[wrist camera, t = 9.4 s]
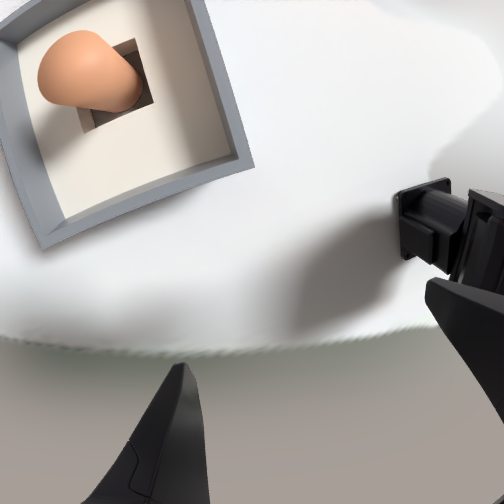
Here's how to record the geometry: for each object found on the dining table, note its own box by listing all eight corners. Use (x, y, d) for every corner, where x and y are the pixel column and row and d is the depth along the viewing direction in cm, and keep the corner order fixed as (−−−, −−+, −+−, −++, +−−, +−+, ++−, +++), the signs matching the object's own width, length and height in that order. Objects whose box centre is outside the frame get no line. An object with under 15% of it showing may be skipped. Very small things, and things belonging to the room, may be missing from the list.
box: (182, -22, 12) (181, -64, 7) (238, 156, 18) (255, 167, 13) (26, 49, 11) (-15, 35, 6) (76, 218, 17) (42, 250, 13)
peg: (148, 101, 16) (115, 82, 8) (103, 120, 15) (46, 119, 8) (135, 58, 14) (99, 17, 7) (91, 78, 14) (32, 55, 7)
